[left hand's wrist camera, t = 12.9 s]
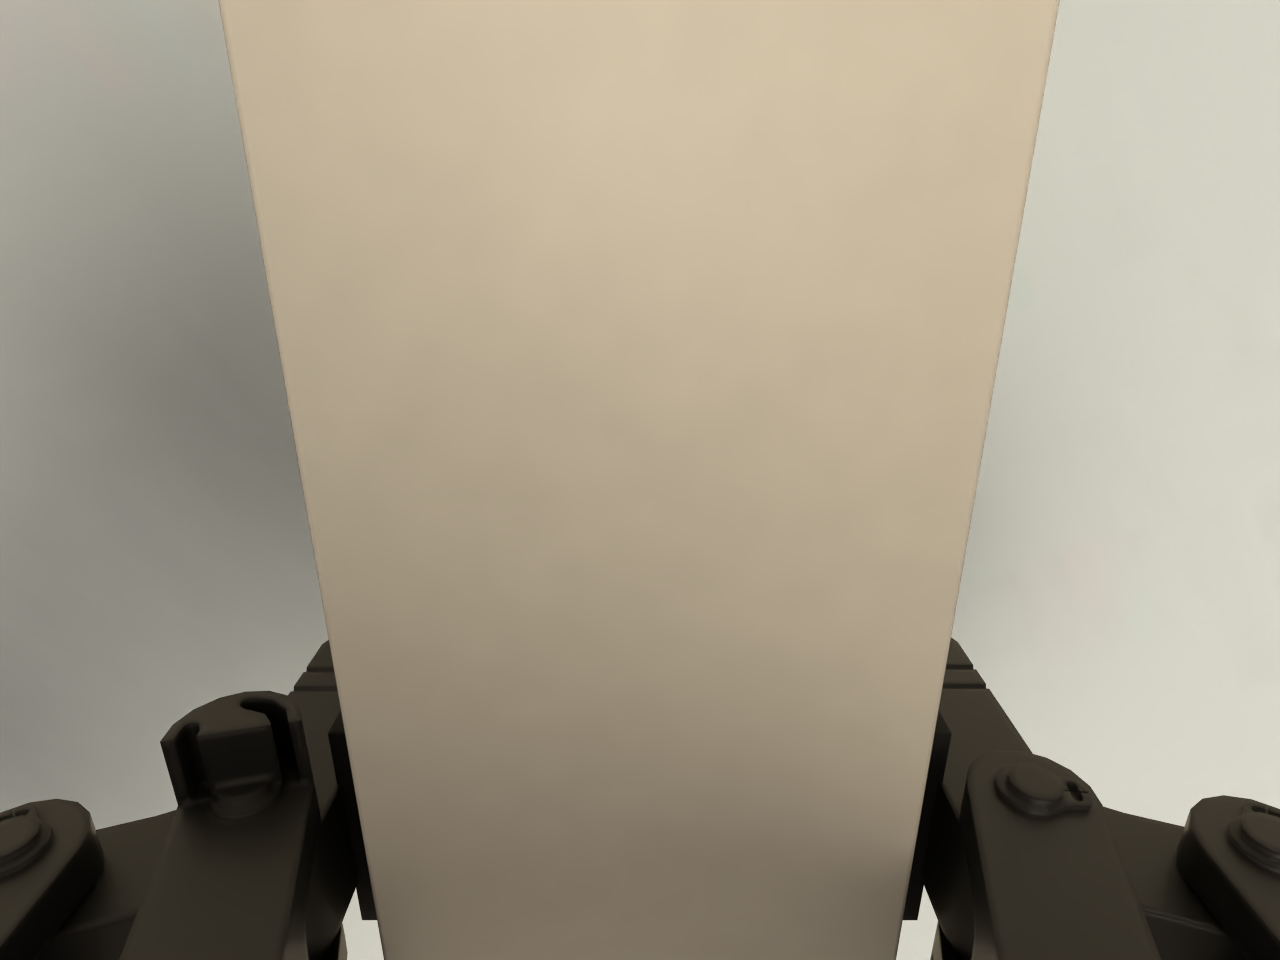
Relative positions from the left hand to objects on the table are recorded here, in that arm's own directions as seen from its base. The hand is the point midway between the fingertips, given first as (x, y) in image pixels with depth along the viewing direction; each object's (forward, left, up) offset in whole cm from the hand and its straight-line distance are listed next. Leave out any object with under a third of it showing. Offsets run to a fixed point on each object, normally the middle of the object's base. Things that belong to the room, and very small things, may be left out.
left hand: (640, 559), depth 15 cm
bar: (-6, +17, -1) cm, 18 cm away
